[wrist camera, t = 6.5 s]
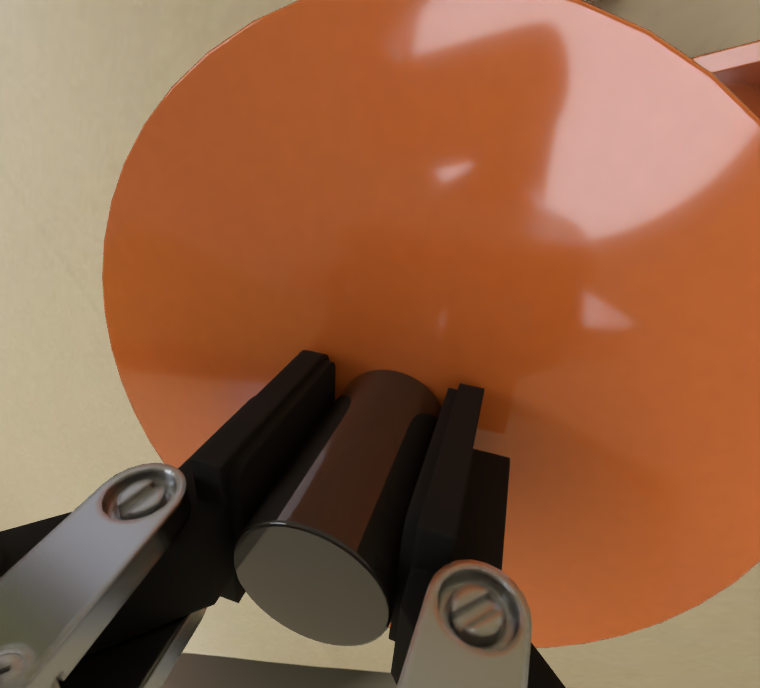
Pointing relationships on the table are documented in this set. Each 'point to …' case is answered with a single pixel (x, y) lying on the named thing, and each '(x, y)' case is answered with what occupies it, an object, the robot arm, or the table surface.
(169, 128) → the pan lid
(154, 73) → the table surface
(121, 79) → the table surface
